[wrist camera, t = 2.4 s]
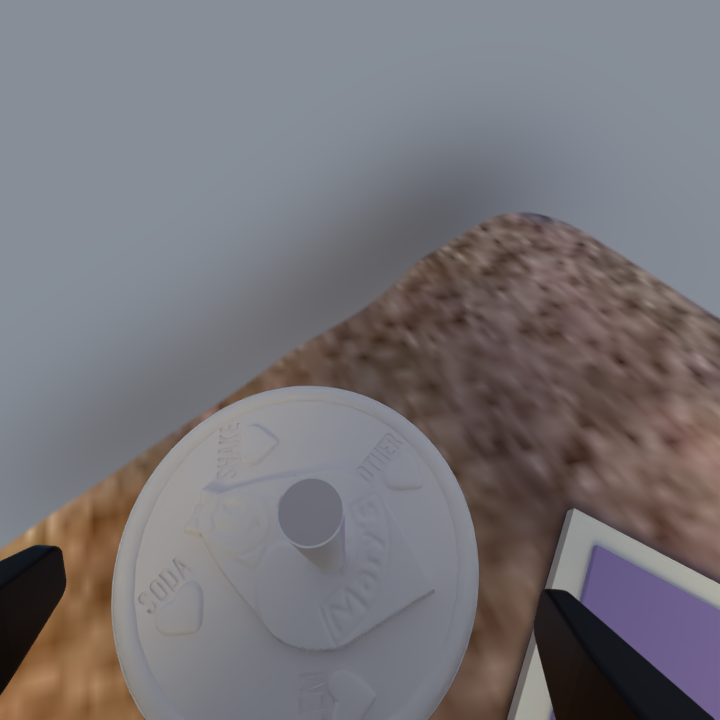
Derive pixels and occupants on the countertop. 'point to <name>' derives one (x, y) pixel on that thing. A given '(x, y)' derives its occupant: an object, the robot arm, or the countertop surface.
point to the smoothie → (296, 567)
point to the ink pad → (632, 612)
